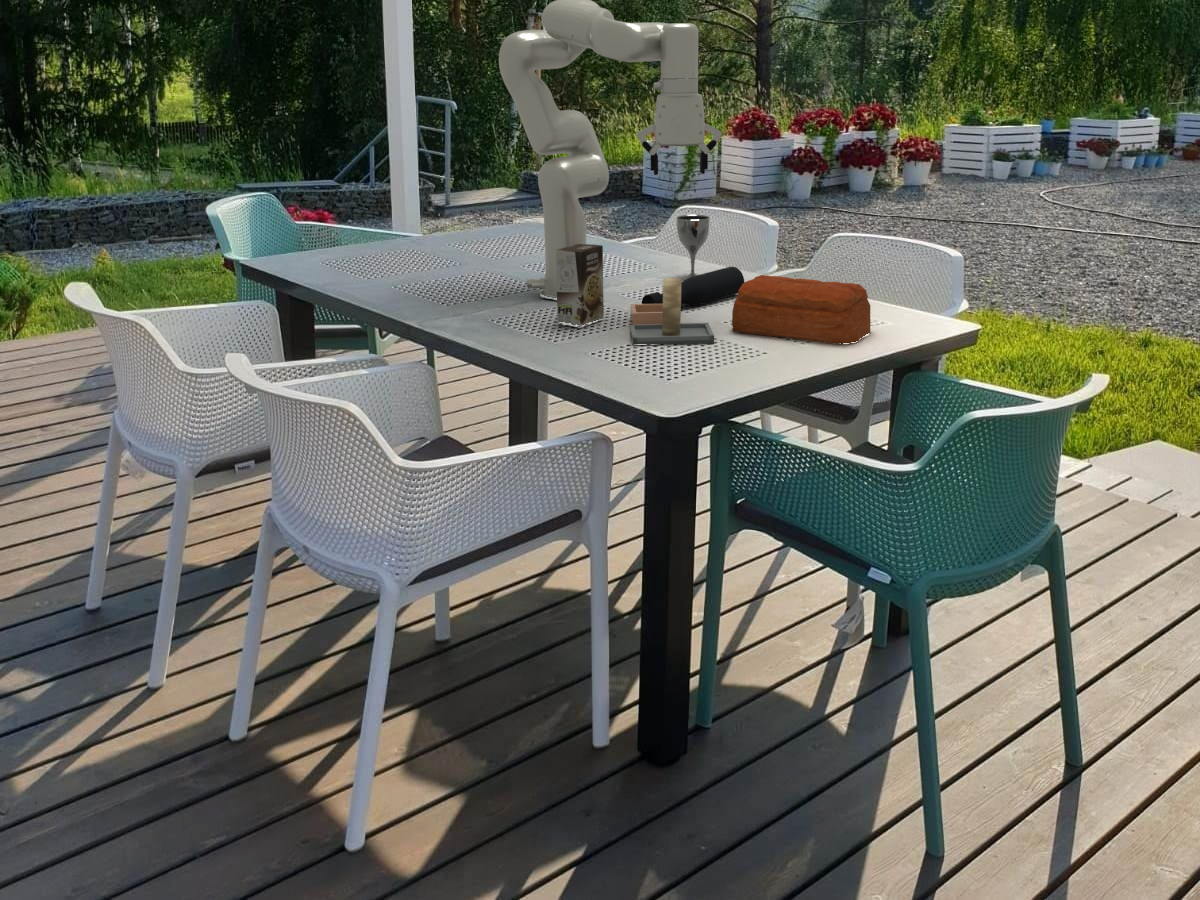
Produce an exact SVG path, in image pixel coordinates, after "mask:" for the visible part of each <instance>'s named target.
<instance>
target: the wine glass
mask: <svg viewBox="0 0 1200 900" xmlns="http://www.w3.org/2000/svg"><path fill="white" fill-rule="evenodd" d="M676 229H677V230H676V231H677V232H676V233H677V237H678V239H679V241H680V243H681V244H682V246H683V247H684V248H685V249H686V251H687V252H688V254H689V258H690V259H689V260H690V273H688V274H686V275H682V276H679V277H678V278H679V279H681V282H683V281H684V280H686V279H688V278H690V277H693V276H696V275H697V274H696V273H695V264H696V263H695V261H696V256H697V253H698V252H699V250H700V249H701V248H702V246H703V245H704V244H705V243H706V242H707V239H708V236H709V231H710V216H708V215H705V214H685V215H684V214H683V215H679V216H676Z"/></svg>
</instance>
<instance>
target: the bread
mask: <svg viewBox="0 0 1200 900" xmlns="http://www.w3.org/2000/svg"><path fill="white" fill-rule="evenodd" d="M868 298H869V296H868V293H867V290H866V288H864V287H863V286H862V285H861V284H859V283H852V282H839V281H822V280H817V279H808V278H794V277H793V278H792V277H787V276H779V275H765V274H761V275H757V276H755V277H754V278H753V279H748V280H747V281H744V283H743V284H742V286H741V287H740V289H739V290H738V293H737V296H736V298H735V300H734V302H733V307H732V312H731V313H732V315H731V316H732V318H731V326H732V330H733V332H738V333H743V334H749V335H757V336H758V335H759V336H765V337H766V336H767V337H777V338H786V339H791V338H792V339H793V340H799V339H802V340H801V341H807V340H808V341H809V342H818V343H825V342H826V343H825V344H833V343H841V344H840V345H843V343H851V342H856V341H858V340H859V339H860V338H862V337H863V336H865V335H866V334H868V333H870V334H871V303H870V301H869V299H868Z"/></svg>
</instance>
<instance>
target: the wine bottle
mask: <svg viewBox="0 0 1200 900" xmlns="http://www.w3.org/2000/svg"><path fill="white" fill-rule="evenodd" d="M744 278H745V277H744V275H743V272H742V271H741V270H740V269H739V268H738V267H735V266H728V267H724V268H720V269H715V270H713V271H707V272H704V273H701V274H696V276H693V277H690V278H688V279H686V280H684V281H681V305H685V306H700V305H702V304H705V303H710V302H714V301H716V300H720V299H723V298H727V297H730V296H733V295H738V290H739V289H740V287H741V286H742V284H743V283H744V282H745V279H744ZM641 304H663V292H662V293H660V292H652V293H648V294H645V295H644V296H643V297H642V298H641Z"/></svg>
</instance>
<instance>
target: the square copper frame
mask: <svg viewBox="0 0 1200 900" xmlns="http://www.w3.org/2000/svg"><path fill="white" fill-rule="evenodd" d="M631 320H632V322H631V325H636V324H662V320H663V304H642V303H634V304H633V303H632V304H630V321H631Z"/></svg>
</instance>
